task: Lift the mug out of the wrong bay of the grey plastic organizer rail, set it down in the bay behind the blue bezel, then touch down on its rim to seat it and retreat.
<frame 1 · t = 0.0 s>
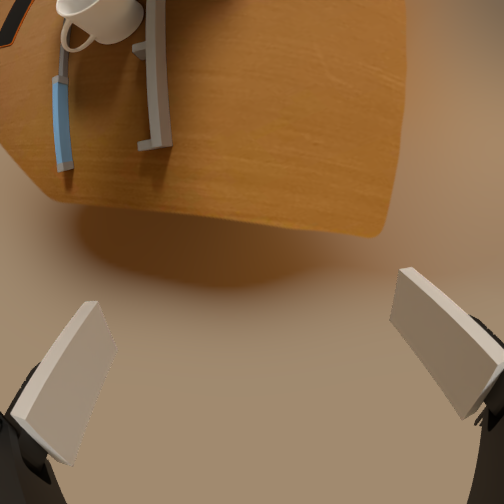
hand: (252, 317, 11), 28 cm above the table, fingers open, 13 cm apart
mug: (111, 30, 26), on the table
smartphone: (20, 12, 19), on the table
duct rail: (109, 66, 28), on the table
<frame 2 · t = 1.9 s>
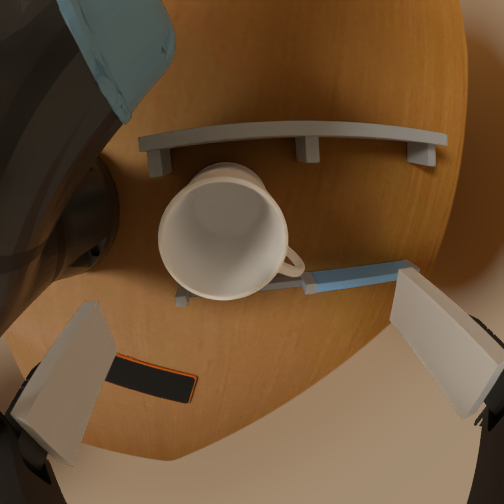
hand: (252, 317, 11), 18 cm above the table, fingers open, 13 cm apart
mug: (238, 212, 28), on the table
smartphone: (141, 374, 36), on the table
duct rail: (303, 207, 28), on the table
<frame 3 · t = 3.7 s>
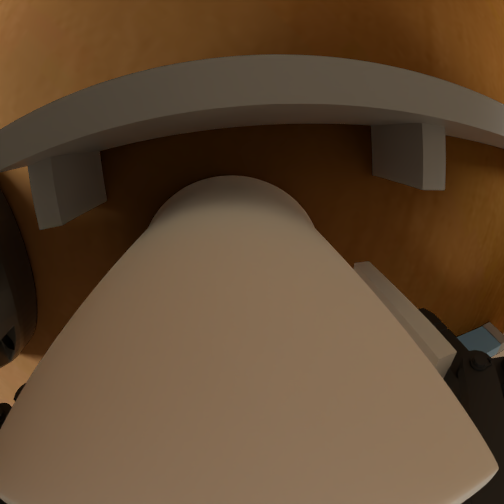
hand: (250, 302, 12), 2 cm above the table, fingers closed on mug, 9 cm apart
mug: (258, 282, 14), on the table, touching gripper
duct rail: (377, 269, 14), on the table
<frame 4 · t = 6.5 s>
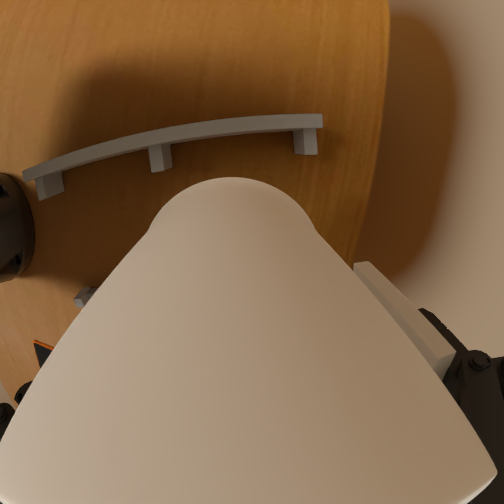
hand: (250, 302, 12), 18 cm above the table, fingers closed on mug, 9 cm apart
mug: (258, 283, 14), point 16 cm above the table, touching gripper
smartphone: (75, 367, 36), on the table
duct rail: (174, 214, 28), on the table
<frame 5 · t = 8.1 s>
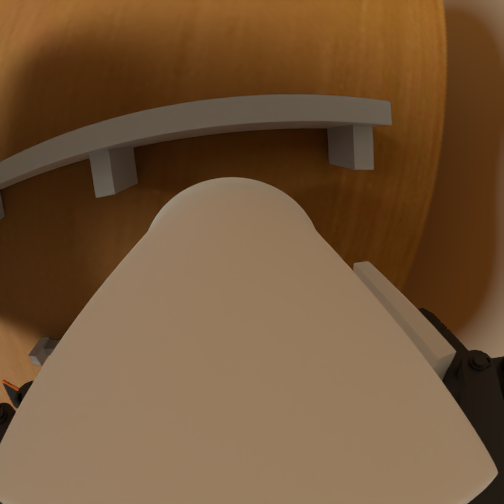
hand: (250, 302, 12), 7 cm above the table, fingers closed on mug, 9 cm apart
mug: (258, 283, 14), point 5 cm above the table, touching gripper
smartphone: (50, 412, 26), on the table
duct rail: (143, 255, 18), on the table
when the fingers open (3 cm above the table, at t = 9.3 s): mug drops 1 cm, on the table.
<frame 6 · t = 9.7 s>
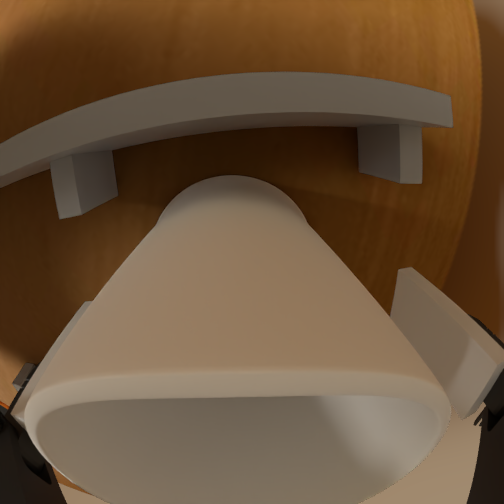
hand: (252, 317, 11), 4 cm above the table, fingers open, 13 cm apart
mug: (255, 272, 15), on the table
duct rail: (128, 283, 15), on the table
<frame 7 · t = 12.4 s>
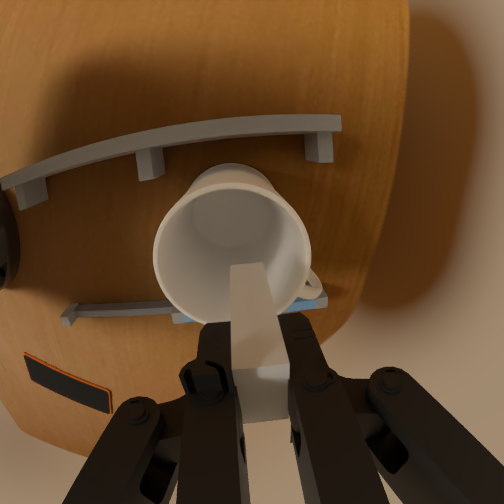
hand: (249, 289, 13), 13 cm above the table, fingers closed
mug: (245, 220, 25), on the table
smartphone: (67, 382, 33), on the table
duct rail: (167, 227, 25), on the table
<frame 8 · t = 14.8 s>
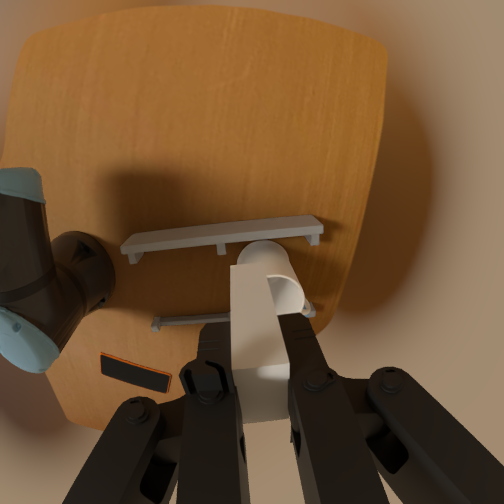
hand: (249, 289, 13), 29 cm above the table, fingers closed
mug: (270, 269, 46), on the table
smartphone: (134, 372, 53), on the table
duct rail: (226, 273, 45), on the table
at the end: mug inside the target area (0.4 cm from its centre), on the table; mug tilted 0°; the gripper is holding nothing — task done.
